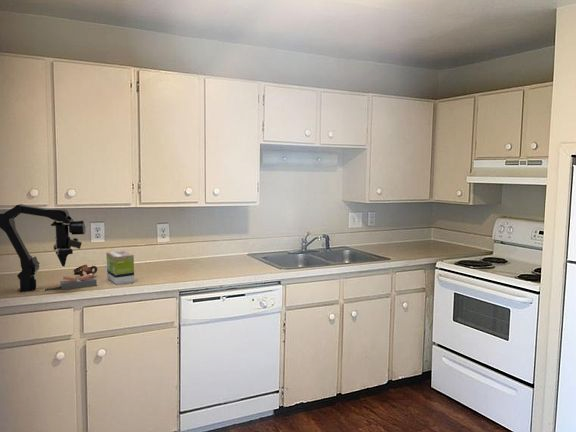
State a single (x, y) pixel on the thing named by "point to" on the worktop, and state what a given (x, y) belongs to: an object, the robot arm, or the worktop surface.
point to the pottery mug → (85, 270)
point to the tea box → (120, 267)
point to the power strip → (75, 284)
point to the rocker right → (86, 276)
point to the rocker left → (69, 278)
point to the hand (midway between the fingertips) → (63, 266)
